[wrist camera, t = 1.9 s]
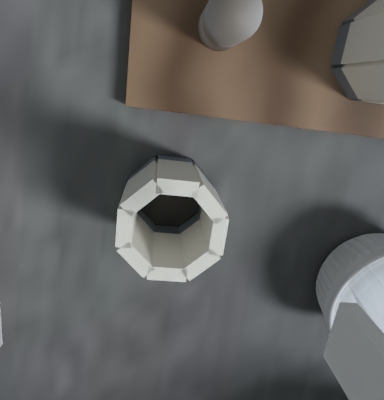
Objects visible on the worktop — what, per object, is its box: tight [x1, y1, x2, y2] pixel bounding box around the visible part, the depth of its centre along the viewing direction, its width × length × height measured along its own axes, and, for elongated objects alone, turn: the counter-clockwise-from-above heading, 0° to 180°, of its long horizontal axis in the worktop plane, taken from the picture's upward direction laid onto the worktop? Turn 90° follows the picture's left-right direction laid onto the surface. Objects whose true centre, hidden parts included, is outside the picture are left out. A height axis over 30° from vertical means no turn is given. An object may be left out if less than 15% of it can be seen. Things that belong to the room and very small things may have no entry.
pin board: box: [125, 0, 384, 139], centre depth 22 cm, size 24×12×6 cm, turn 83°
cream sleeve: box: [115, 155, 229, 282], centre depth 25 cm, size 7×7×7 cm
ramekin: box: [316, 233, 384, 334], centre depth 30 cm, size 11×11×5 cm
